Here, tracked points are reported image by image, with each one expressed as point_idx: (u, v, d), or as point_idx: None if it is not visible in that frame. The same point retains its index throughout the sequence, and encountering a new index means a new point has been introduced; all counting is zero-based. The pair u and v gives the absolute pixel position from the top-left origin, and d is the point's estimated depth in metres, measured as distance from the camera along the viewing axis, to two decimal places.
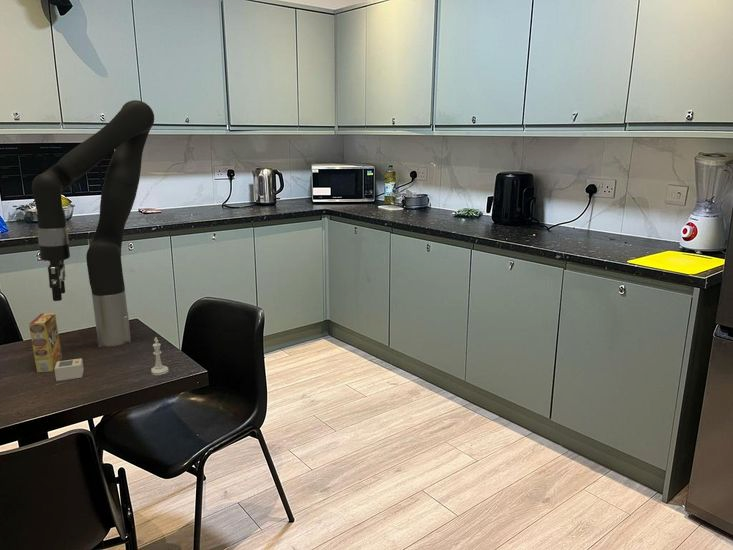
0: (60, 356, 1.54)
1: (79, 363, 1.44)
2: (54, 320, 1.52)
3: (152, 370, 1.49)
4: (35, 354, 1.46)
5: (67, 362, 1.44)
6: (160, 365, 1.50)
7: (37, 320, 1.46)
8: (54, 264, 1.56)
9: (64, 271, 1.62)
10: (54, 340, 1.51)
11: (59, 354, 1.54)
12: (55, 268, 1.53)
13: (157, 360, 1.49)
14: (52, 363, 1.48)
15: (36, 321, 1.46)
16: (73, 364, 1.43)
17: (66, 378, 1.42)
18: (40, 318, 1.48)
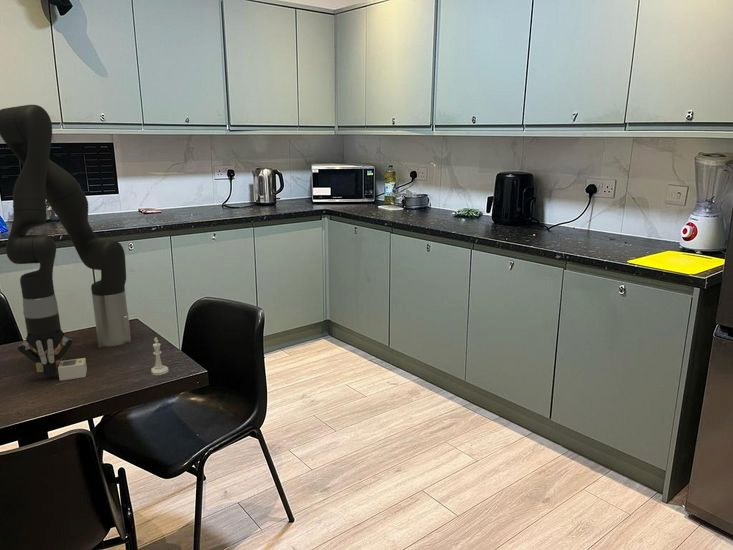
0: None
1: (82, 363, 1.44)
2: None
3: (152, 370, 1.49)
4: None
5: (70, 362, 1.45)
6: (160, 365, 1.50)
7: None
8: (63, 333, 1.42)
9: None
10: None
11: None
12: (72, 340, 1.44)
13: (157, 360, 1.49)
14: None
15: None
16: (76, 364, 1.44)
17: (69, 378, 1.43)
18: None
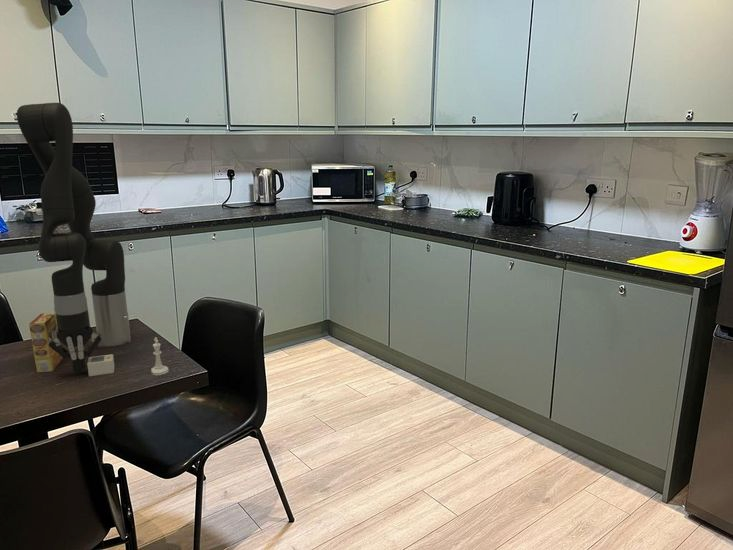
0: (60, 356, 1.54)
1: (111, 359, 1.47)
2: (54, 320, 1.52)
3: (152, 370, 1.49)
4: (35, 354, 1.46)
5: (99, 358, 1.47)
6: (160, 365, 1.50)
7: (37, 320, 1.46)
8: (92, 330, 1.45)
9: None
10: None
11: None
12: (101, 336, 1.46)
13: (157, 360, 1.49)
14: (52, 363, 1.48)
15: (36, 321, 1.46)
16: (105, 360, 1.46)
17: (98, 373, 1.45)
18: (40, 318, 1.48)
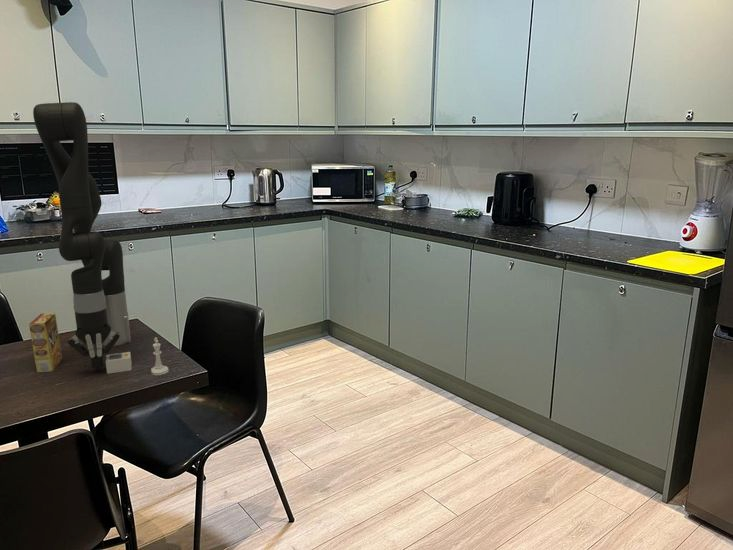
0: (60, 356, 1.54)
1: (128, 356, 1.49)
2: (54, 320, 1.52)
3: (152, 370, 1.49)
4: (35, 354, 1.46)
5: (117, 355, 1.49)
6: (160, 365, 1.50)
7: (37, 320, 1.46)
8: (110, 328, 1.46)
9: None
10: (54, 340, 1.51)
11: (59, 354, 1.54)
12: (119, 334, 1.48)
13: (157, 360, 1.49)
14: (52, 363, 1.48)
15: (36, 321, 1.46)
16: (123, 357, 1.48)
17: (116, 371, 1.47)
18: (40, 318, 1.48)
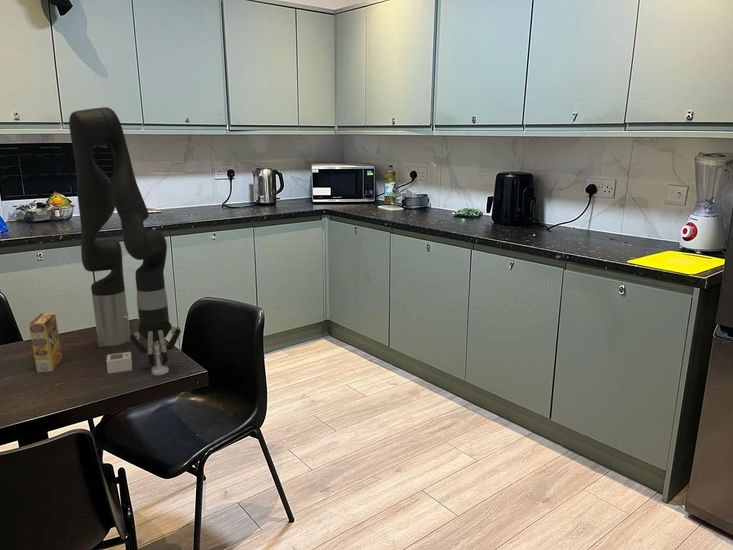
0: (60, 356, 1.54)
1: (129, 356, 1.49)
2: (54, 320, 1.52)
3: (152, 369, 1.49)
4: (35, 354, 1.46)
5: (117, 355, 1.49)
6: (160, 365, 1.50)
7: (37, 320, 1.46)
8: None
9: None
10: (54, 340, 1.51)
11: (59, 354, 1.54)
12: (179, 329, 1.51)
13: (157, 360, 1.49)
14: (52, 363, 1.48)
15: (36, 321, 1.46)
16: (124, 357, 1.48)
17: (117, 371, 1.47)
18: (40, 318, 1.48)
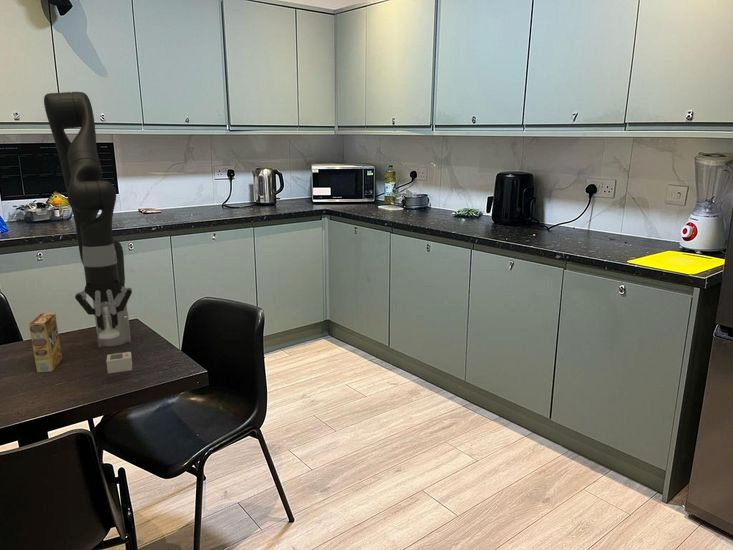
0: (60, 356, 1.54)
1: (129, 356, 1.49)
2: (54, 320, 1.52)
3: (101, 333, 1.39)
4: (35, 354, 1.46)
5: (117, 355, 1.49)
6: (110, 328, 1.39)
7: (37, 320, 1.46)
8: (121, 284, 1.39)
9: None
10: (54, 340, 1.51)
11: (59, 354, 1.54)
12: (131, 290, 1.41)
13: (106, 323, 1.39)
14: (52, 363, 1.48)
15: (36, 321, 1.46)
16: (124, 357, 1.48)
17: (117, 371, 1.47)
18: (40, 317, 1.48)
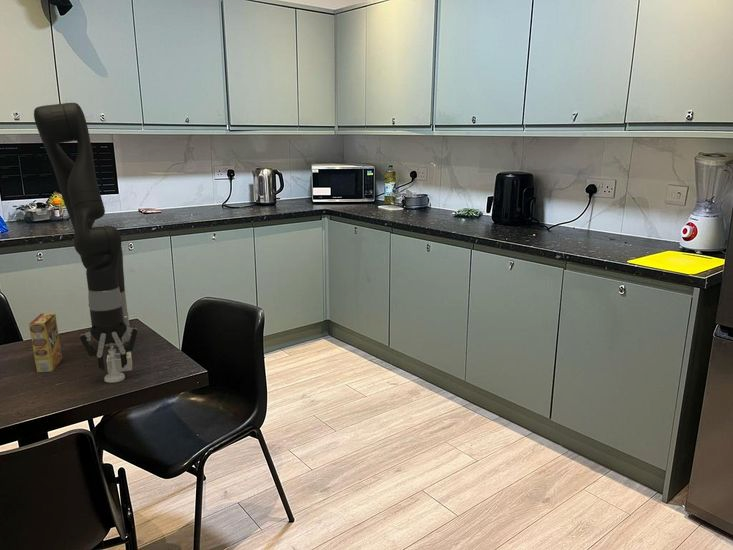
0: (60, 356, 1.54)
1: (129, 356, 1.49)
2: (54, 320, 1.52)
3: (107, 376, 1.42)
4: (35, 354, 1.46)
5: (117, 355, 1.49)
6: (115, 372, 1.42)
7: (37, 320, 1.46)
8: (125, 325, 1.41)
9: None
10: (54, 340, 1.51)
11: (59, 354, 1.54)
12: (136, 328, 1.43)
13: (112, 366, 1.42)
14: (52, 363, 1.48)
15: (36, 321, 1.46)
16: None
17: None
18: (40, 318, 1.48)
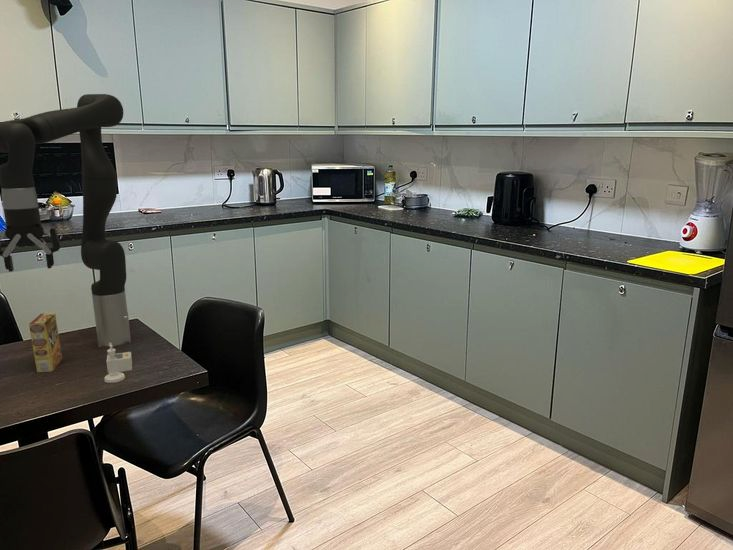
0: (60, 356, 1.54)
1: (129, 356, 1.49)
2: (54, 320, 1.52)
3: (107, 376, 1.42)
4: (35, 354, 1.46)
5: (117, 355, 1.49)
6: (115, 372, 1.42)
7: (37, 320, 1.46)
8: None
9: None
10: (54, 340, 1.51)
11: (59, 354, 1.54)
12: (54, 228, 1.40)
13: (112, 366, 1.42)
14: (52, 363, 1.48)
15: (36, 321, 1.46)
16: (124, 357, 1.48)
17: None
18: (40, 318, 1.48)
